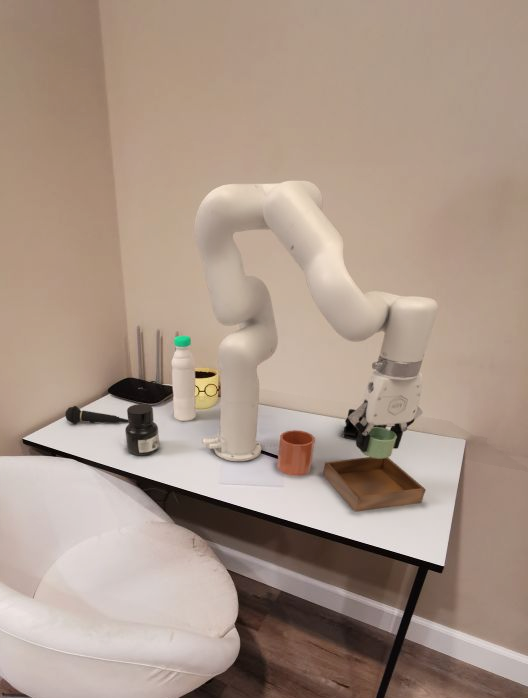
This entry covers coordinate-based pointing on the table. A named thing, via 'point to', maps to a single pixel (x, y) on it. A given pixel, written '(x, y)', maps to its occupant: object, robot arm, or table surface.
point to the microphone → (90, 416)
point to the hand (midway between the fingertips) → (376, 446)
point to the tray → (372, 483)
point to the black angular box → (351, 430)
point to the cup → (295, 452)
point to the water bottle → (183, 380)
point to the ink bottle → (141, 430)
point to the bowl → (380, 443)
